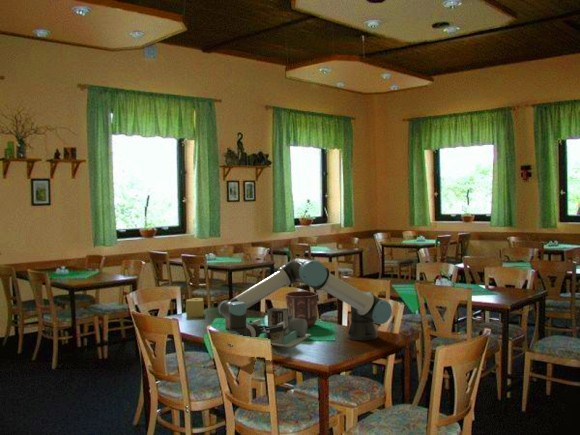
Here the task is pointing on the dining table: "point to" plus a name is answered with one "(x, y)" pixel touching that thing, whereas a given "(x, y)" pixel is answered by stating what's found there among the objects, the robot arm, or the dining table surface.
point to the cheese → (194, 307)
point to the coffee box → (275, 318)
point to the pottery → (303, 306)
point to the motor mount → (293, 332)
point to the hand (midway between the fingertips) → (271, 323)
